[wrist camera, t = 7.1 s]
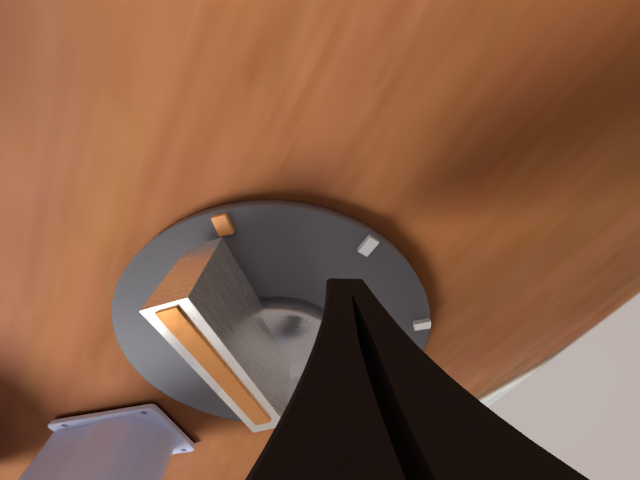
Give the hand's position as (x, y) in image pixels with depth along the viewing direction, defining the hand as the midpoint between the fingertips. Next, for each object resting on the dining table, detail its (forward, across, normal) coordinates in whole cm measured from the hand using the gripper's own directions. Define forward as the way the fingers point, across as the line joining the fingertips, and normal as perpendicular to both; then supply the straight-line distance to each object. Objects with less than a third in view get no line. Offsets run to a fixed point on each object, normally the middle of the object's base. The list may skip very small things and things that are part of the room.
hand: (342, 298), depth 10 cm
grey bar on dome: (+4, +4, +6) cm, 8 cm away
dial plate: (+5, +3, +8) cm, 10 cm away
